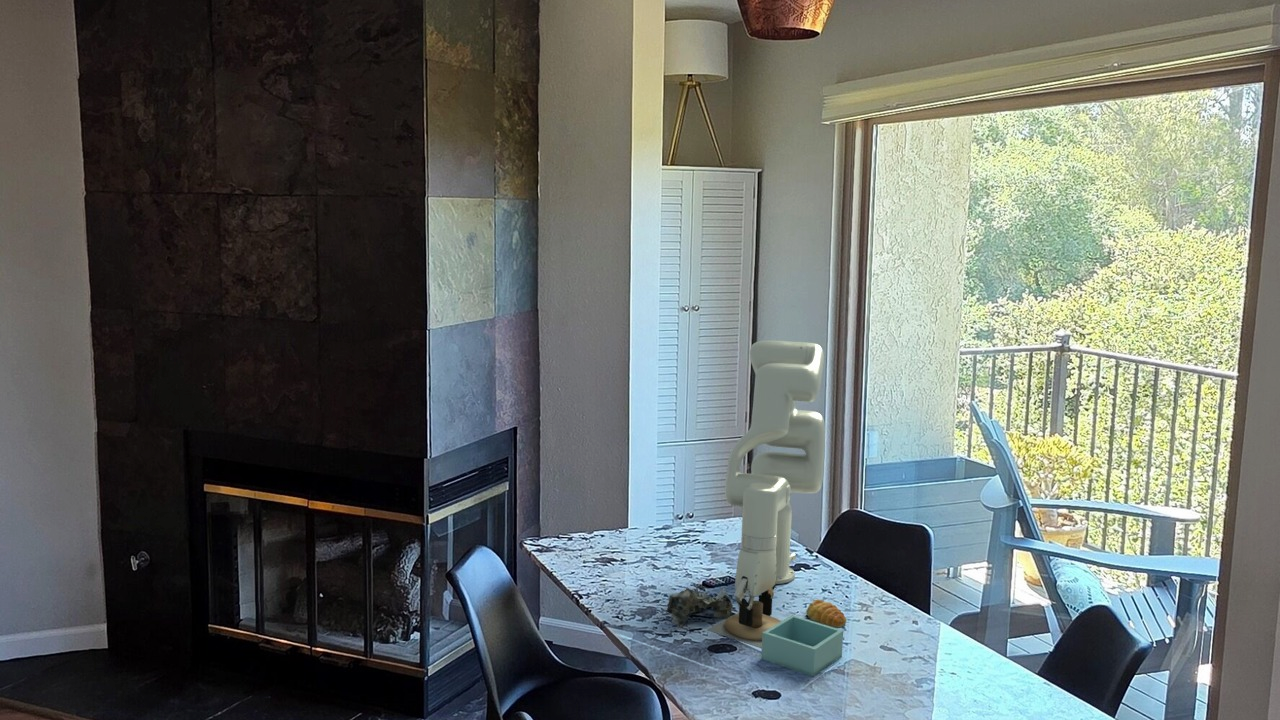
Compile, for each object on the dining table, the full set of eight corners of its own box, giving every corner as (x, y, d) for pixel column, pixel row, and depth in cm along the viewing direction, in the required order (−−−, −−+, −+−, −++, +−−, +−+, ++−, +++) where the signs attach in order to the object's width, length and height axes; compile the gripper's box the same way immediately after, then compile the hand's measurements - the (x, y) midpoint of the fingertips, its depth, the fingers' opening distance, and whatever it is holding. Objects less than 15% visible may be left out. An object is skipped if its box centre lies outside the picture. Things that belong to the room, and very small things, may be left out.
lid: (745, 612, 234) (746, 587, 233) (795, 627, 226) (797, 602, 225) (713, 629, 224) (714, 604, 223) (765, 646, 216) (766, 620, 215)
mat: (744, 611, 235) (744, 609, 235) (802, 629, 226) (802, 627, 226) (706, 631, 224) (706, 629, 224) (766, 651, 215) (766, 649, 214)
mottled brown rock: (743, 615, 225) (687, 580, 223) (714, 653, 227) (659, 619, 224) (734, 592, 237) (681, 559, 234) (707, 629, 238) (654, 596, 235)
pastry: (853, 626, 229) (854, 610, 229) (831, 632, 225) (832, 616, 225) (824, 611, 237) (825, 596, 236) (802, 618, 233) (803, 601, 233)
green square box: (790, 641, 219) (792, 615, 219) (841, 658, 212) (843, 630, 211) (761, 660, 210) (762, 632, 209) (813, 678, 203) (814, 649, 202)
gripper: (764, 528, 231) (761, 603, 234) (721, 547, 217) (718, 626, 220) (794, 535, 226) (790, 612, 229) (752, 555, 213) (748, 636, 216)
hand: (755, 618), depth 225 cm, fingers open, 7 cm apart
